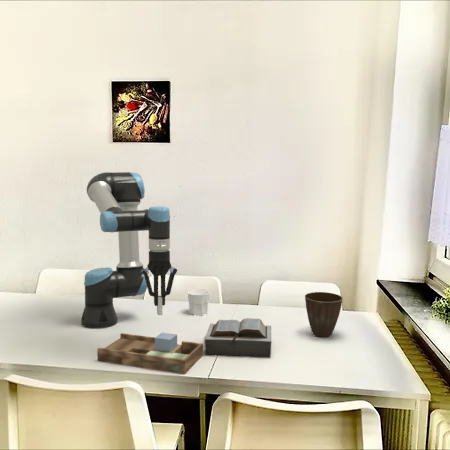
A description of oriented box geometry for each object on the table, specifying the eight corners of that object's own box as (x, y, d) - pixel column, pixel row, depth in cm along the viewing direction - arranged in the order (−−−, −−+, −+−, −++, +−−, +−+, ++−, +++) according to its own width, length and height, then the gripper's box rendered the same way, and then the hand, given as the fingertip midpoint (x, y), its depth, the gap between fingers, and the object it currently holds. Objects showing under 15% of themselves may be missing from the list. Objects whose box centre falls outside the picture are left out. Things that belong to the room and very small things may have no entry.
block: (154, 350, 181) (154, 337, 181) (162, 344, 187) (161, 332, 187) (170, 352, 180) (170, 339, 179) (177, 346, 185) (177, 334, 185)
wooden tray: (97, 361, 179) (97, 348, 178) (121, 344, 195) (121, 333, 194) (185, 373, 169) (185, 360, 168) (203, 355, 185) (203, 343, 184)
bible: (268, 364, 179) (268, 336, 177) (195, 355, 186) (195, 329, 185) (279, 341, 201) (280, 317, 200) (213, 334, 208) (214, 311, 207)
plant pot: (347, 334, 208) (349, 296, 206) (328, 344, 198) (329, 304, 196) (316, 326, 219) (318, 290, 217) (296, 335, 208) (297, 296, 206)
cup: (208, 316, 231) (209, 295, 230) (186, 316, 231) (186, 294, 230) (209, 310, 241) (210, 289, 240) (188, 309, 241) (188, 289, 240)
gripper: (142, 252, 177) (143, 318, 180) (179, 251, 181) (179, 315, 184) (139, 249, 184) (140, 312, 187) (175, 247, 188) (175, 309, 191)
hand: (159, 314), depth 186 cm, fingers closed
